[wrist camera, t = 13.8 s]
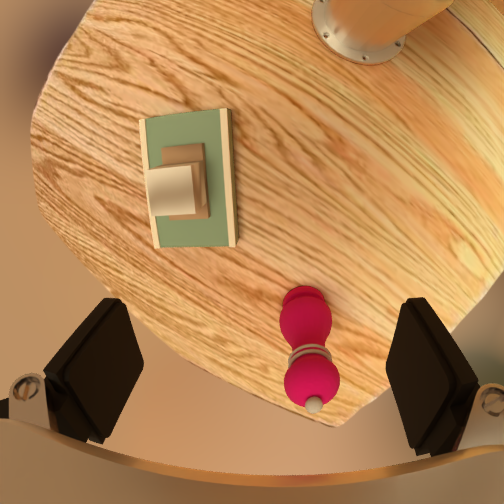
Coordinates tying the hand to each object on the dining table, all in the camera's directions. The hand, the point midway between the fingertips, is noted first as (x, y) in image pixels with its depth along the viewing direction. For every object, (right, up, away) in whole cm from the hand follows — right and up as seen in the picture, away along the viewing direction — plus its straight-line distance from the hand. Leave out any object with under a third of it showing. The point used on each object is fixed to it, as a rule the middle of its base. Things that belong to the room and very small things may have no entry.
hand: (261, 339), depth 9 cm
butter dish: (-8, +11, +26) cm, 29 cm away
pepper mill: (+7, -5, +35) cm, 36 cm away
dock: (-8, +12, +28) cm, 32 cm away
